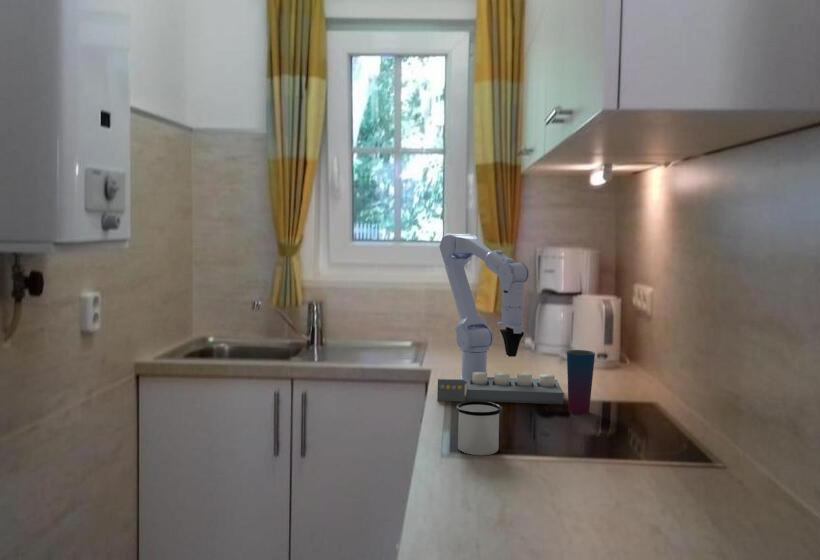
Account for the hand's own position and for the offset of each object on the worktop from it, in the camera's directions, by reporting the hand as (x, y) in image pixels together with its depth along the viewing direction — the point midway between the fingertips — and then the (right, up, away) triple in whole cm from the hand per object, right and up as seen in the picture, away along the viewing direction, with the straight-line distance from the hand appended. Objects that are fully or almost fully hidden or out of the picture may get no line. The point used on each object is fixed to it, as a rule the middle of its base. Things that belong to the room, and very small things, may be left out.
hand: (511, 355), depth 207 cm
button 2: (-3, -8, -4) cm, 9 cm away
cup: (+14, -12, -20) cm, 28 cm away
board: (0, -10, -4) cm, 11 cm away
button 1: (-9, -8, -3) cm, 12 cm away
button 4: (+9, -8, -5) cm, 13 cm away
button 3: (+3, -8, -4) cm, 10 cm away
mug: (-14, -14, -51) cm, 55 cm away
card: (-17, -11, -11) cm, 23 cm away
